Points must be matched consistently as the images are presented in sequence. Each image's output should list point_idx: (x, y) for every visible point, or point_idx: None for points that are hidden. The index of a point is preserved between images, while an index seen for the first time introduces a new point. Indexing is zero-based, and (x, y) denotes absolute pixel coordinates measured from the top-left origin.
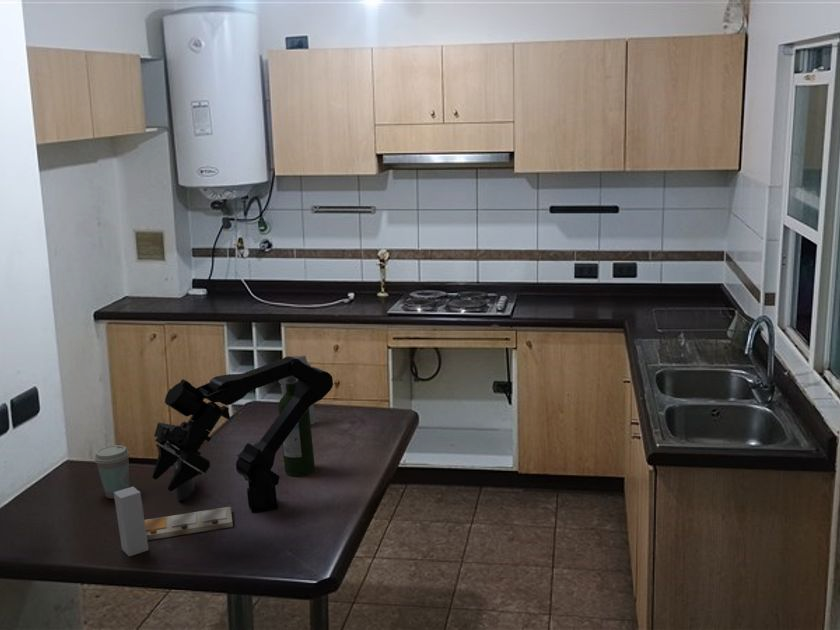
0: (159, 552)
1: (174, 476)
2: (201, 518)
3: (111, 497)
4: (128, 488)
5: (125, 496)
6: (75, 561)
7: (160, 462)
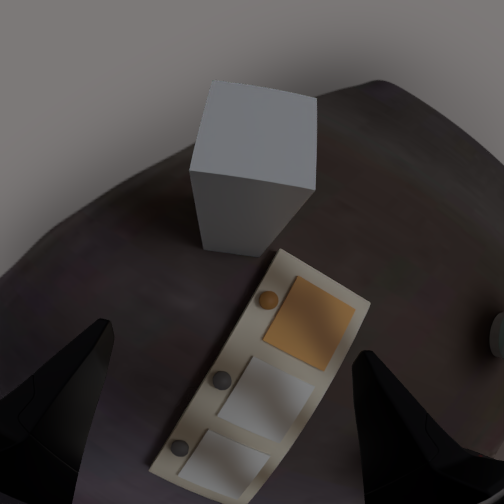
0: (165, 261)
1: (46, 377)
2: (237, 438)
3: (496, 317)
4: (307, 159)
5: (210, 99)
6: None
7: (402, 437)
